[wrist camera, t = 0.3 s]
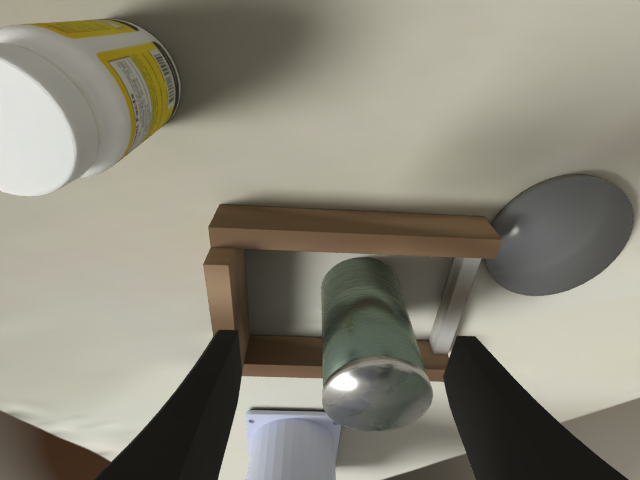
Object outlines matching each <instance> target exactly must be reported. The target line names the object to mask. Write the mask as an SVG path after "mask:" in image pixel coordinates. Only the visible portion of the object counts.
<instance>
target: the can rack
mask: <svg viewBox="0 0 640 480" xmlns="http://www.w3.org/2000/svg"><path fill="white" fill-rule="evenodd" d="M208 229H209V237H210V245H211V248H210V250H209V253H208V255H207V257H206V260H205V262H204V264H203V266H204V273H205V281H206V288H207V295H208V302H209V309H210V316H211V323H212V330H213V337H214V335H215V333H216V332H217V331H218V330H238V333H239V344H240V354H241V365H242V376H260V377H296V378H323V350H322V337H295V336H263V335H250V331H249V316H248V301H247V286H246V271H245V255H244V249H261V250H286V251H311V252H335V253H360V254H385V255H409V256H434V257H454V260H453V263H452V266H451V270H450V273H449V276H448V280H447V283H446V286H445V289H444V293H443V296H442V299H441V303H440V306H439V309H438V312H437V316H436V319H435V322H434V325H433V329H432V332H431V335H430V339H429V341H421V340H416V341H417V345H418V348H419V351H420V355H421V358H422V361H423V364H424V368H425V371H426V374H427V376H428V378H429V381H441V382H444V379H443V375H444V372H445V369H446V366H447V364H448V361H449V357H448V352H449V349H450V346H451V344H452V341H453V338H454V335H455V332H456V329H457V327H458V324H459V321H460V318H461V315H462V312H463V310H464V307H465V304H466V301H467V298H468V296H469V293H470V290H471V287H472V284H473V281H474V279H475V276H476V273H477V270H478V267H479V264H480V262H481V259H482V258H483V259H496V257H497V255H498V252H499V249H500V247H501V244H502V241H503V239H502V238H501V237H500V236H499V234H498V233H497V232H496V231H495V229H494V228H493V227H492V226H491V224H490V223H489V222H488V221H487V220H486V218H485V217H481V216H459V215H437V214H414V213H392V212H370V211H348V210H325V209H303V208H281V207H258V206H236V205H219V207H218V209H217V211H216V213H215V215H214V217H213V219H212V221H211V223H210V225H209V227H208Z"/></svg>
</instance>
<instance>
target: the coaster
mask: <svg viewBox="0 0 640 480" xmlns="http://www.w3.org/2000/svg"><path fill="white" fill-rule="evenodd" d="M633 218H634V215H633V208H632V205H631V203H630V201H629V199H628V197H627V196H626V195H625V194H624V193H623V191H622V190H620V189H619V188H617V187H616V186H615V185H613V184H611V183H609V182H608V181H606V180H604V179H601V178H599V177H595V176H591V175H583V174H572V175H565V176H559V177H555V178H551V179H549V180H546V181H543V182H540V183H538V184H536V185H534V186H532V187H530V188H528V189H527V190H525V191H523V192H522V193H520V194H519V195H518V196H516V197H515V198H514V199H513V200H511V201H510V202H509V203H508V204H507V205H506V206H505V207H504V208H503V209H502V210H501V211H500V212H499V214H498V215H497V216H496V218H495V219H494V221H493V222H492V224H491V226H492V227H493V228H494V229H495V231H496V232H497V233H498V234H499V236H500V237H501V238H502V239H503V241H502V244H501V247H500V249H499V252H498V255H497V257H496V259H485V263H486V265H487V268H488V270H489V271H490V273H491V274H492V276H493V277H494V279H495V280H496V281H497V282H498V283H499V284H500V285H501V286H503V287H504V288H506V289H508V290H510V291H512V292H515V293H517V294H522V295H529V296H544V295H551V294H556V293H560V292H564V291H567V290H570V289H572V288H575V287H577V286H579V285H581V284H584V283H585V282H587V281H589V280H591V279H592V278H594V277H595V276H597V275H598V274H600V273H601V272H602V271H603V270H604V269H606V268H607V267H608V266H609V265H610V264H611V263H612V262H613V261H614V260H615V259H616V258H617V256H618V255H619V254H620V253H621V251H622V250H623V248H624V247H625V245H626V243H627V241H628V239H629V237H630V234H631V231H632V227H633Z"/></svg>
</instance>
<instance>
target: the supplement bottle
mask: <svg viewBox="0 0 640 480" xmlns="http://www.w3.org/2000/svg"><path fill="white" fill-rule="evenodd" d="M180 92H181V86H180V79H179V75H178V71H177V68H176V66H175V63H174V61H173V59H172V58H171V56H170V54H169V53H168V51H167V50H166V49H165V47H164V46H163V45H162V44H161V43H160V42H159V41H158V40H157V39H156V38H155V37H154V36H153V35H151V34H150V33H149V32H147V31H146V30H144V29H142V28H140V27H139V26H137V25H134V24H132V23H130V22H126V21H123V20H118V19H96V20H84V21H69V22H54V23H37V24H21V25H11V26H6V27H3V28H0V191H2V192H6V193H10V194H15V195H21V196H38V195H44V194H48V193H51V192H54V191H56V190H58V189H60V188H62V187H63V186H65V185H67V184H68V183H70V182H72V181H74V180H76V179H78V178H80V177H88V176H92V175H96V174H99V173H101V172H103V171H105V170H107V169H109V168H110V167H112V166H113V165H115V164H116V163H117V162H119V161H120V160H121V159H122V158H124V157H125V156H126V155H127V154H129V153H130V152H131V151H132V150H134V149H135V148H136V147H138V146H139V145H140V144H141V143H142V142H144V141H145V140H146V139H147V138H149V137H150V136H151V135H152V134H154V133H155V132H156V131H157V130H159V129H160V128H161V127H162V126H164V125H165V124H166V123H167V122H168V121H169V120H170V119H171V118H172V116H173V115H174V113H175V112H176V109H177V107H178V104H179V100H180Z"/></svg>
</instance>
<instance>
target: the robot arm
mask: <svg viewBox="0 0 640 480" xmlns="http://www.w3.org/2000/svg"><path fill="white" fill-rule="evenodd" d="M241 377H242V365H241V354H240V344H239V333H238V330H218V331H217V332H216V333H215V335H214V337H213V338H212V340H211V341H210V343H209V345H208V346H207V348H206V349H205V351H204V352H203V354H202V355H201V357H200V358H199V360H198V361H197V363H196V364H195V365H194V367H193V368H192V370H191V371H190V372H189V374H188V375H187V376H186V378H185V379H184V380H183V382H182V383H181V385H180V386H179V387H178V388H177V390H176V391H175V392H174V393H173V395H172V396H171V397H170V398H169V400H168V401H167V402H166V403H165V405H164V406H163V407H162V408H161V409H160V411H159V412H158V413H157V414H156V415H155V416H154V418H153V419H152V420H151V421H150V422H149V423H148V424H147V426H146V427H145V428H144V429H143V430H142V431H141V432H140V433H139V434H138V435H137V436H136V437H135V439H134V440H133V441H132V442H131V443H130V444H129V445H128V446H127V447H126V448H125V449H124V450H123V451H122V452H121V453H120V454H119V455H118V456H117V457H116V458H115V459H114V460H113V461H112V462H111V463H110V464H109V465H108V466H107V467H106V468H105V469H104V470H103V471H102V472H101V473H99V474H98V475H97V476H96V477H95V478H94V479H93V480H218V476H219V472H220V468H221V464H222V461H223V457H224V453H225V449H226V445H227V442H228V438H229V434H230V430H231V426H232V423H233V419H234V415H235V411H236V407H237V403H238V397H239V390H240V384H241ZM443 379H444V383H445V388H446V393H447V397H448V401H449V405H450V408H451V411H452V414H453V417H454V420H455V423H456V426H457V428H458V431H459V434H460V437H461V439H462V442H463V445H464V448H465V450H466V453H467V456H468V458H469V461H470V464H471V467H472V469H473V471H474V475H475V478H476V480H628V479H627V478H626V477H624V476H623V475H622V474H620V473H619V472H618V471H617V470H615V469H614V468H613V467H611V466H610V465H609V464H607V463H606V462H605V461H603V460H602V459H601V458H600V457H599V456H597V455H596V454H595V453H594V452H593V451H591V450H590V449H589V448H588V447H587V446H585V445H584V444H583V443H582V442H581V441H580V440H578V439H577V438H576V437H575V436H573V435H572V434H571V433H570V432H569V431H568V430H567V429H566V428H564V427H563V426H562V425H561V424H560V423H559V422H558V421H557V420H556V419H555V418H554V417H553V416H552V415H551V414H549V413H548V412H547V411H546V410H545V409H544V408H543V407H542V406H541V405H540V404H539V403H538V402H537V401H536V400H535V399H534V398H533V397H532V396H531V395H530V394H529V393H528V392H527V391H526V390H525V389H524V388H523V387H522V386H521V385H520V384H519V383H518V382H517V381H516V380H515V379H514V378H513V377H512V376H511V375H510V373H509V372H508V371H507V370H506V369H505V368H504V367H503V366H502V365H501V364H500V363H499V362H498V361H497V359H496V358H495V357H494V356H493V355H492V354H491V353H490V352H489V351H488V350H487V349H486V348H485V346H484V345H483V344H482V343H481V342H480V341H479V340H478V339H477V338H476V337H475V336H457V337H456V340H455V343H454V346H453V349H452V352H451V355H450V358H449V361H448V364H447V366H446V369H445V372H444V375H443ZM245 419H246V430H247V441H248V452H249V464H248V471H247V477H246V480H336V472H335V464H336V457H337V451H338V444H339V437H340V430H341V425H339V424H338V423H336V422H334V421H333V420H332V419H331V418H330V417H329V416H328V415H327V414H326V412H310V411H268V410H249V411H247V412H246V416H245Z"/></svg>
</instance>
